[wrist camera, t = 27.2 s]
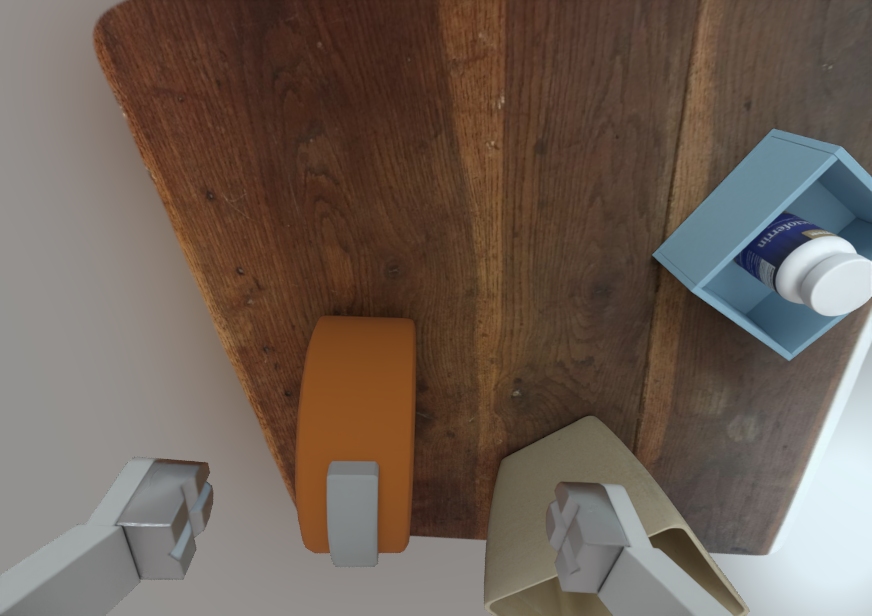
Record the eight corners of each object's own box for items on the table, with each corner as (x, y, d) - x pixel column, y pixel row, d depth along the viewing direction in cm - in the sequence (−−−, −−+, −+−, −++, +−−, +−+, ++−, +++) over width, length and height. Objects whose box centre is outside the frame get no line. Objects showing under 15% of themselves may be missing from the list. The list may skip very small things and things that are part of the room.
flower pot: (670, 472, 58) (754, 617, 44) (539, 531, 64) (576, 678, 49) (606, 380, 50) (684, 521, 36) (462, 456, 55) (479, 606, 41)
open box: (772, 128, 37) (841, 146, 31) (861, 213, 41) (937, 243, 35) (651, 254, 43) (690, 291, 37) (740, 319, 47) (789, 361, 41)
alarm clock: (320, 298, 43) (275, 429, 29) (416, 301, 44) (418, 431, 30) (332, 468, 55) (304, 620, 41) (407, 468, 56) (405, 618, 42)
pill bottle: (786, 194, 40) (889, 238, 31) (795, 247, 42) (892, 301, 34) (719, 226, 41) (800, 277, 32) (732, 276, 44) (809, 335, 35)
